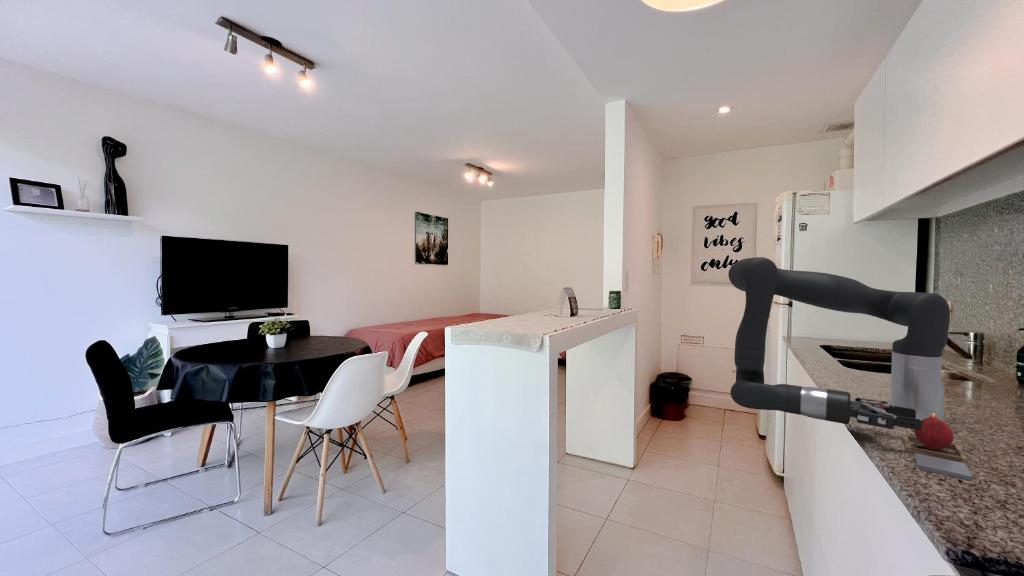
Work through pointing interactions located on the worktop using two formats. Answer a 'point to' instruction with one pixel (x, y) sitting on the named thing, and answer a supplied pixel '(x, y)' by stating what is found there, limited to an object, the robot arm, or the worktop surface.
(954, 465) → the coaster
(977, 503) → the worktop surface
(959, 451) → the square wooden frame
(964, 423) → the worktop surface
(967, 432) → the worktop surface
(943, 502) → the worktop surface
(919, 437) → the onion
